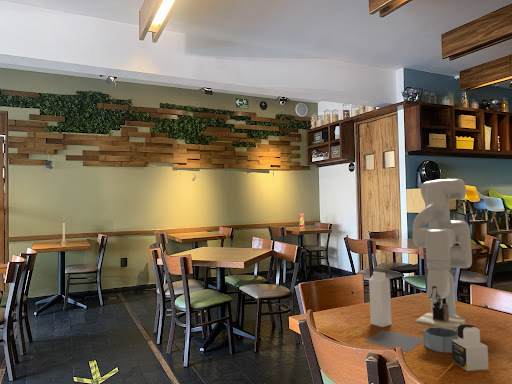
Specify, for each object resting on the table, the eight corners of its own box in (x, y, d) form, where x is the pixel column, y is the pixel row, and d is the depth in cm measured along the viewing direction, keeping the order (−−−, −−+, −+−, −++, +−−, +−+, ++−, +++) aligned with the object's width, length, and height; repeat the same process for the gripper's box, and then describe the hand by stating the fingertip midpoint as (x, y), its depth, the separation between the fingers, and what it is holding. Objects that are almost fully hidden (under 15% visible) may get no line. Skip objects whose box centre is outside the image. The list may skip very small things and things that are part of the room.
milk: (383, 328, 154) (380, 274, 155) (370, 325, 159) (368, 272, 160) (391, 325, 158) (389, 272, 158) (379, 322, 163) (377, 270, 163)
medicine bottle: (452, 361, 120) (450, 323, 121) (473, 360, 121) (471, 322, 122) (466, 371, 113) (464, 330, 114) (489, 370, 114) (487, 329, 114)
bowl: (430, 340, 140) (430, 324, 140) (464, 347, 132) (463, 330, 133) (420, 348, 132) (419, 332, 132) (454, 356, 124) (454, 339, 124)
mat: (383, 331, 150) (383, 330, 150) (425, 340, 140) (425, 338, 140) (364, 343, 139) (364, 341, 139) (408, 353, 128) (408, 351, 128)
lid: (427, 315, 141) (427, 298, 142) (466, 321, 133) (465, 303, 133) (415, 323, 132) (414, 305, 132) (456, 330, 123) (455, 311, 123)
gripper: (434, 261, 142) (437, 311, 141) (418, 266, 129) (421, 321, 129) (456, 262, 137) (459, 314, 136) (442, 268, 124) (445, 325, 123)
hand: (440, 317), depth 132 cm, fingers closed on lid, 4 cm apart
